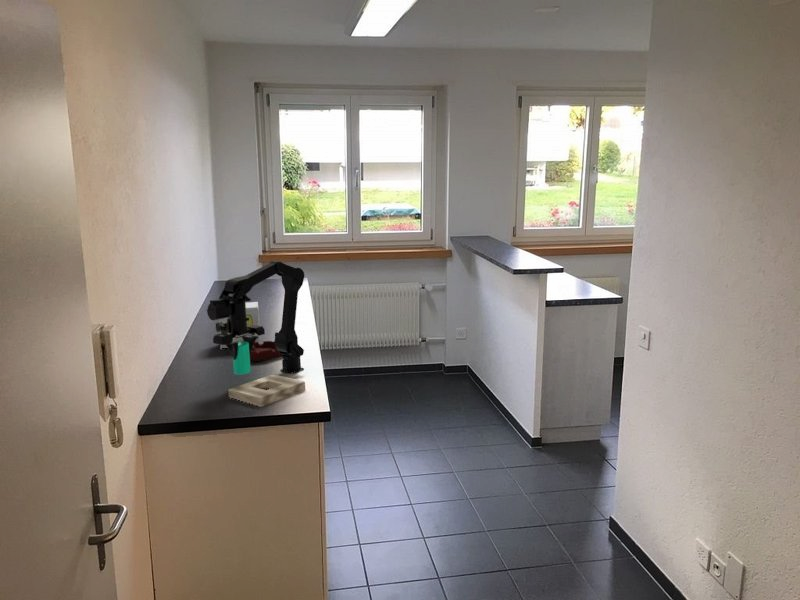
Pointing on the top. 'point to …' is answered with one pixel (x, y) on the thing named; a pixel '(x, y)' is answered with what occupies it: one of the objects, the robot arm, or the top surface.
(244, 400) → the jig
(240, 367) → the candle
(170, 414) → the top surface
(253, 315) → the supplement box
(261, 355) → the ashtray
